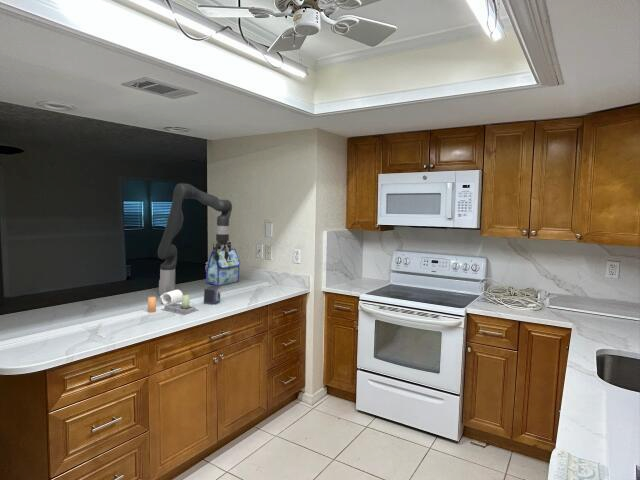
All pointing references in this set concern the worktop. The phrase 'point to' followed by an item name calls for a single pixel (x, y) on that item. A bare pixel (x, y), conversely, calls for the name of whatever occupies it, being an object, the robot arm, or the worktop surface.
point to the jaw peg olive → (185, 301)
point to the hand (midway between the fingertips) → (221, 259)
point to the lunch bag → (223, 268)
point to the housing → (178, 309)
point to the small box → (212, 295)
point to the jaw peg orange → (151, 304)
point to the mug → (171, 297)
